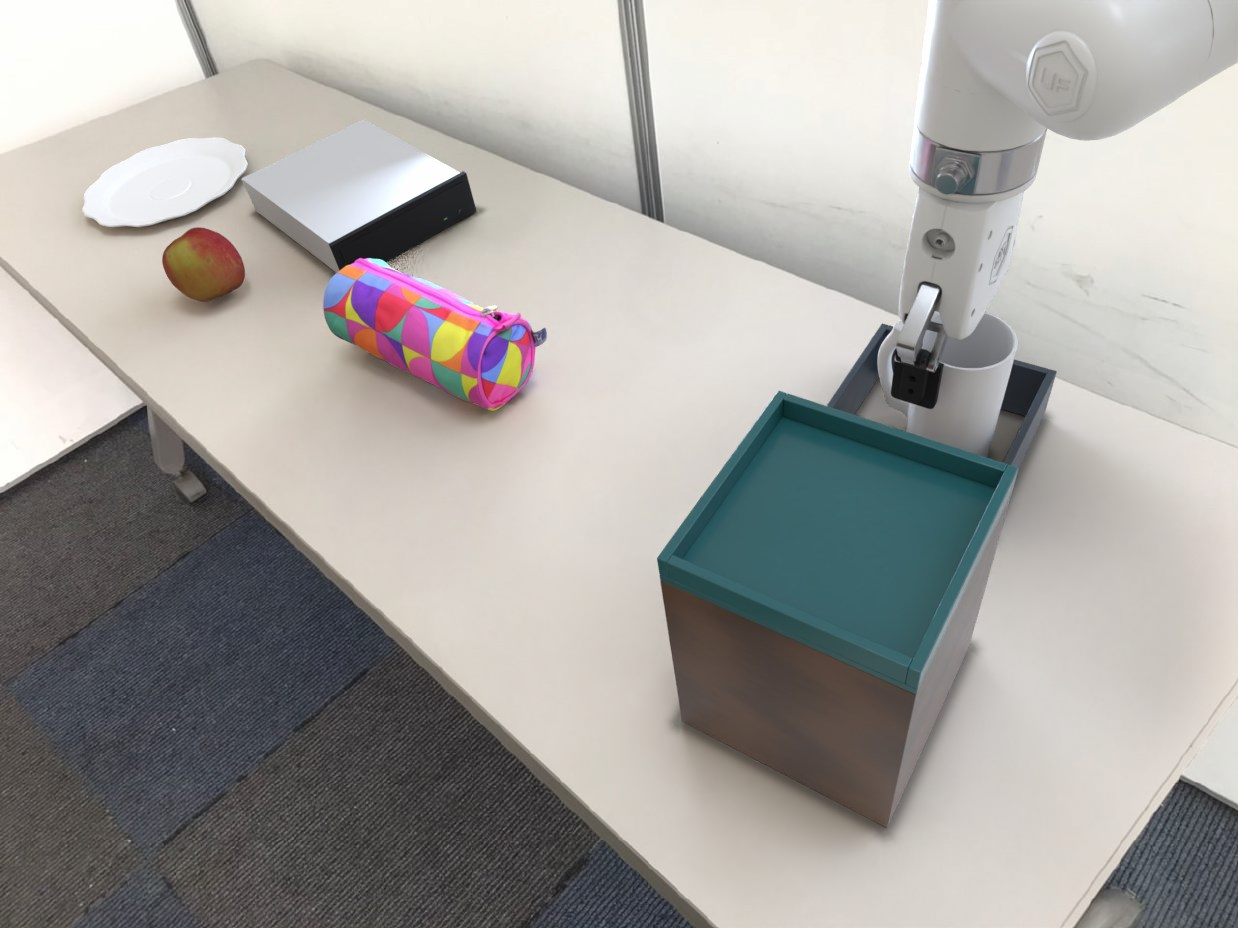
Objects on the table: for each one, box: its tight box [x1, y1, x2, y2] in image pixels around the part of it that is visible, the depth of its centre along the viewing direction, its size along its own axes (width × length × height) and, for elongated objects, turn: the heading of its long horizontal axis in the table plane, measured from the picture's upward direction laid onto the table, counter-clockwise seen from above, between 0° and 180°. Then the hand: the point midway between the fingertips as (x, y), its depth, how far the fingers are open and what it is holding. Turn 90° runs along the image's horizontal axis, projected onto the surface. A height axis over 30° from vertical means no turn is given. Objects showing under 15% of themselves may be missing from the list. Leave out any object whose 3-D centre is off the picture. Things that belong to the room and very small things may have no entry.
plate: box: [81, 136, 249, 228], centre depth 121 cm, size 21×21×2 cm
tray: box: [656, 390, 1019, 694], centre depth 51 cm, size 14×14×2 cm
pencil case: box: [322, 258, 548, 412], centre depth 87 cm, size 22×9×9 cm, turn 56°
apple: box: [161, 226, 246, 303], centre depth 101 cm, size 8×8×8 cm
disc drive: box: [241, 118, 477, 274], centre depth 110 cm, size 18×22×5 cm
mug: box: [878, 311, 1019, 458], centre depth 72 cm, size 10×7×12 cm, turn 47°
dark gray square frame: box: [826, 322, 1058, 471], centre depth 74 cm, size 14×14×5 cm
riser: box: [659, 492, 1013, 829], centre depth 57 cm, size 14×14×16 cm
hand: (937, 359), depth 70 cm, fingers open, 9 cm apart
